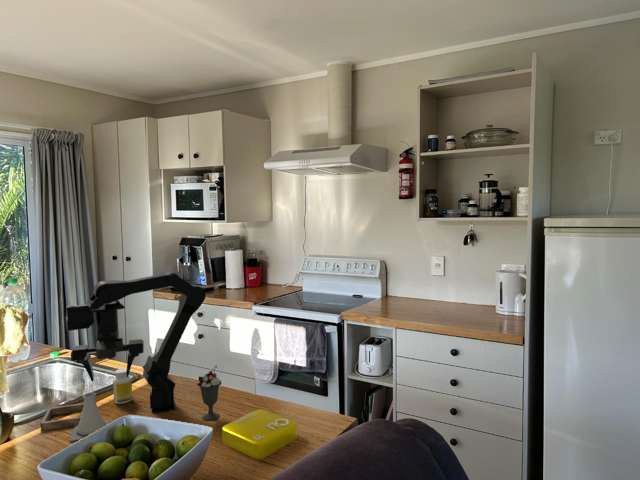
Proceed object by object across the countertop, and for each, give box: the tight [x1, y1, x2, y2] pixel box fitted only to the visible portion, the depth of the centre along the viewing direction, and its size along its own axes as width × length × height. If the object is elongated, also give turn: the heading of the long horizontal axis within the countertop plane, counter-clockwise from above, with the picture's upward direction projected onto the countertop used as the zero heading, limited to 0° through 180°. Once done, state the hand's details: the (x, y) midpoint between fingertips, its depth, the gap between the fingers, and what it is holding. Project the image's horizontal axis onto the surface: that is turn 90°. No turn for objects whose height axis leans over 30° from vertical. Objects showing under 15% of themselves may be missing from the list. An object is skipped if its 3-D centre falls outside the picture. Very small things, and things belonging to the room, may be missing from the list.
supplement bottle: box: [112, 368, 133, 405], centre depth 150 cm, size 5×5×10 cm
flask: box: [76, 391, 106, 435], centre depth 130 cm, size 7×7×10 cm
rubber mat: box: [69, 420, 111, 443], centre depth 130 cm, size 9×9×1 cm
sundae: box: [197, 365, 222, 422], centre depth 137 cm, size 7×7×15 cm
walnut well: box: [40, 402, 84, 431], centre depth 138 cm, size 11×11×2 cm
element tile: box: [221, 408, 298, 460], centre depth 124 cm, size 15×15×5 cm
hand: (110, 378), depth 137 cm, fingers open, 9 cm apart
